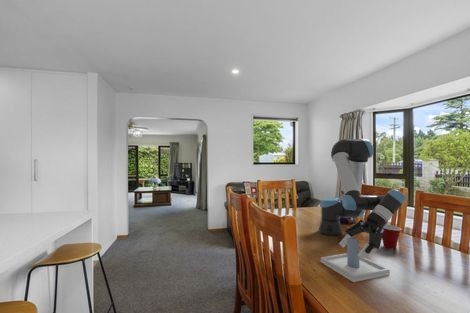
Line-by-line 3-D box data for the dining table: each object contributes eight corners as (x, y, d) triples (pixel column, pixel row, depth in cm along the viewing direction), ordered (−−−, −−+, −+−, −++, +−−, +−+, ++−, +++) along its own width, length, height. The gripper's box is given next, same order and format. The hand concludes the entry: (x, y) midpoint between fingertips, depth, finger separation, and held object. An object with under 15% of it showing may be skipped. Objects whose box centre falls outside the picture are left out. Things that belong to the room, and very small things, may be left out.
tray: (320, 261, 114) (320, 257, 114) (352, 256, 120) (352, 252, 120) (353, 282, 95) (353, 276, 95) (389, 274, 101) (389, 269, 101)
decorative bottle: (357, 226, 173) (357, 193, 173) (327, 223, 183) (327, 191, 184) (358, 220, 193) (358, 189, 193) (331, 217, 203) (330, 188, 203)
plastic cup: (405, 251, 126) (405, 229, 126) (383, 250, 128) (383, 228, 128) (396, 244, 137) (396, 224, 137) (376, 243, 139) (375, 223, 139)
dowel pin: (344, 264, 109) (344, 238, 109) (353, 262, 110) (352, 237, 111) (353, 268, 104) (353, 241, 104) (362, 267, 106) (361, 240, 106)
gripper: (407, 230, 98) (375, 269, 95) (365, 216, 122) (339, 246, 120) (395, 218, 97) (363, 257, 94) (356, 206, 121) (329, 236, 119)
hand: (349, 251), depth 107 cm, fingers open, 13 cm apart
